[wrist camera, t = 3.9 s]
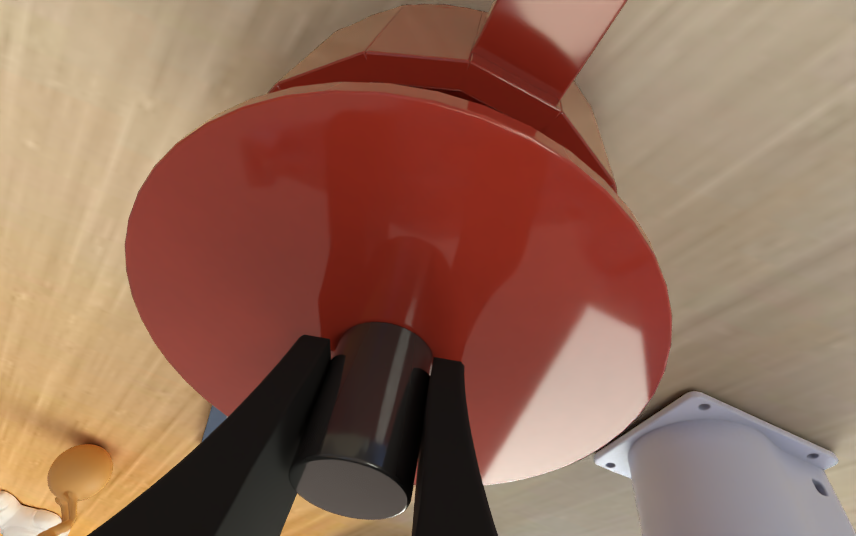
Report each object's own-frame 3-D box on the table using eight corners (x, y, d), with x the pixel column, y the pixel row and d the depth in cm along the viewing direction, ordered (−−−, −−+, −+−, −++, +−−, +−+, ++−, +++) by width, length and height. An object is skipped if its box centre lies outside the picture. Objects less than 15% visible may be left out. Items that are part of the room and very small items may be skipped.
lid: (803, 259, 10) (960, 472, 6) (487, 494, 18) (479, 645, 14) (178, -79, 8) (-109, -40, 4) (140, 362, 15) (31, 501, 12)
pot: (741, 36, 14) (835, 103, 10) (465, 357, 25) (455, 455, 21) (370, -195, 12) (294, -231, 8) (245, 263, 23) (185, 350, 19)
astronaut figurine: (-36, 471, 45) (-66, 503, 43) (84, 525, 50) (62, 557, 48) (-61, 489, 49) (-89, 520, 47) (52, 538, 54) (31, 567, 52)
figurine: (96, 420, 35) (-56, 616, 26) (168, 459, 37) (54, 651, 28) (55, 449, 39) (-87, 626, 30) (123, 483, 41) (10, 656, 32)
